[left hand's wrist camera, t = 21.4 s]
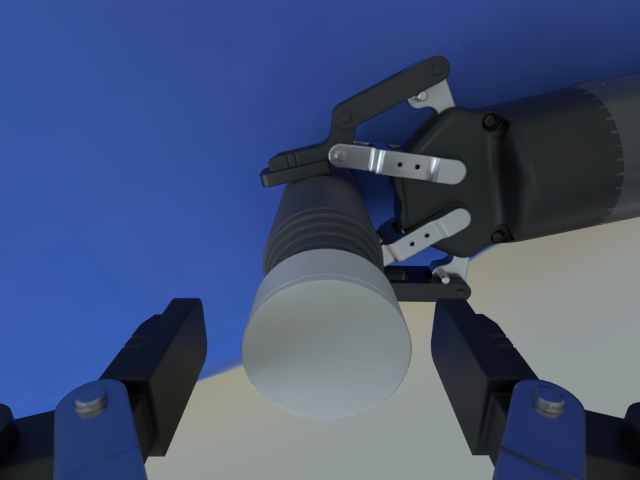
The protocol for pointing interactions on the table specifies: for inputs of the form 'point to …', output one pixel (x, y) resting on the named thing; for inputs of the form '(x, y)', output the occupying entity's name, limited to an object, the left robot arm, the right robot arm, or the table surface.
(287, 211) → the bottle
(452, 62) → the table surface
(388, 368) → the cap
